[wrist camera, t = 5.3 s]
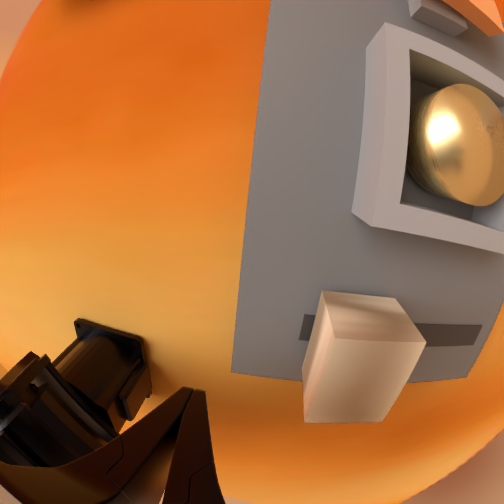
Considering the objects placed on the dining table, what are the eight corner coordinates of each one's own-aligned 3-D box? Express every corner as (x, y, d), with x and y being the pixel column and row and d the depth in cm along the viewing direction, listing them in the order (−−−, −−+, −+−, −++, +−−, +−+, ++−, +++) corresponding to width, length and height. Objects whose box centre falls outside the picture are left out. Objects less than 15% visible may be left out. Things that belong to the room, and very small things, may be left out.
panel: (236, 352, 17) (221, 407, 13) (279, -42, 9) (276, -88, 4) (456, 362, 16) (481, 401, 11) (503, 40, 8) (539, 26, 3)
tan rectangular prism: (301, 368, 14) (304, 422, 10) (321, 290, 13) (335, 338, 9) (366, 371, 14) (381, 421, 10) (394, 298, 12) (426, 342, 9)
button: (393, 183, 11) (424, 190, 8) (401, 83, 9) (430, 65, 6) (470, 205, 11) (506, 217, 8) (477, 116, 9) (513, 111, 6)
